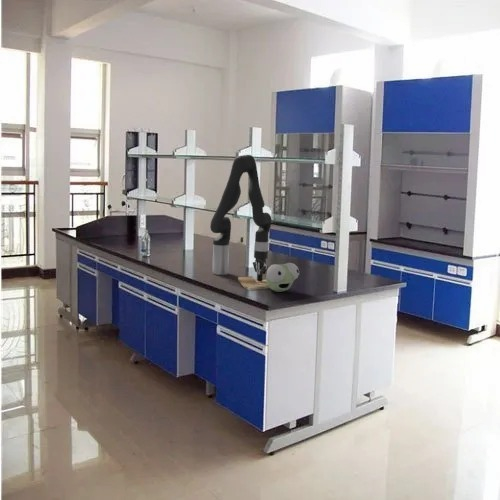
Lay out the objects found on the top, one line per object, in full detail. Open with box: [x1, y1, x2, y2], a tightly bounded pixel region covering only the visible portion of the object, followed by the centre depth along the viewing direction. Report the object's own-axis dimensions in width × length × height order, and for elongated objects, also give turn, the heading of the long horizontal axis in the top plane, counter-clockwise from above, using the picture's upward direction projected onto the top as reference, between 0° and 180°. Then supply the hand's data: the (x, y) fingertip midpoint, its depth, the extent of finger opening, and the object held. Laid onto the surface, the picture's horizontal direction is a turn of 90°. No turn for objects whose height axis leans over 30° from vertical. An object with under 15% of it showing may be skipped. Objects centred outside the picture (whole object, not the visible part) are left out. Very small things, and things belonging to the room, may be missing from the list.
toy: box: [265, 262, 300, 293], centre depth 305 cm, size 18×15×15 cm
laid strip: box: [244, 284, 271, 291], centre depth 314 cm, size 5×18×1 cm, turn 121°
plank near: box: [237, 275, 259, 289], centre depth 317 cm, size 8×8×1 cm
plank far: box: [255, 279, 267, 285], centre depth 323 cm, size 8×8×1 cm
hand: (259, 280), depth 325 cm, fingers closed
